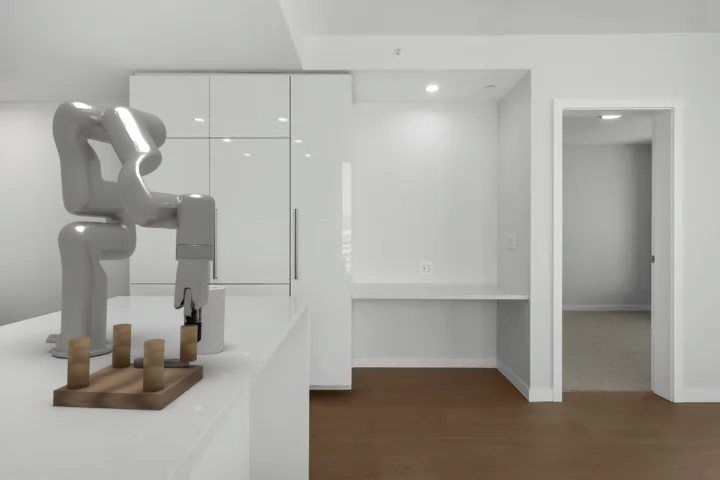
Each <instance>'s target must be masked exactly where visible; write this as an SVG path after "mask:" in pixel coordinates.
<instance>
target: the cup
mask: <svg viewBox="0 0 720 480" xmlns="http://www.w3.org/2000/svg"><path fill="white" fill-rule="evenodd" d="M225 303H226V286H224V285H223V286H222V285H209V295H208V302H207V304H206V305H204V306H203V307H202V320H201V322H202V329H201V340H200V341H199V342H197V355H212V353H214V354H218V353H217V352H219V353H221V351H222V352H223V351H224V350H225V315H226V314H225V313H226V311H225V310H226V309H225V308H226V304H225Z"/></svg>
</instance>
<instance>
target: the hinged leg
mask: <svg viewBox="0 0 720 480" xmlns="http://www.w3.org/2000/svg"><path fill="white" fill-rule="evenodd" d="M197 331H198V325H184V324H183V325H180V337H179V358H164V367H169V366H188V365H190V363H193V362H195V361H197V360H198V354H197ZM143 361H144V357H137V358H134V359H133V363H134V367H143Z"/></svg>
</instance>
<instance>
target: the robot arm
mask: <svg viewBox="0 0 720 480" xmlns="http://www.w3.org/2000/svg"><path fill="white" fill-rule="evenodd" d="M52 135H53V136H52V137H53V140H54V144H55V147H56V149H57V153H58V157H59V163H60V178H61V181H60V182H61V193H62V201H63V206H64V209H65V210H66V212H67V213H69V214H71V215H74V216H78V217H84V218H85V217H86V218H101V219H105V222H102V221H88V220H87V221H86V220H84V221H83V220H82V221H81V220H80V221H74V222H73V221H72V222H69V223H67V224H66V225H64V226H63V227H62V228H61V229H60V231H59V232H58V237H57V245H58V250H59V256H60V263H61V306H60V307H61V308H60V310H61V311H60V312H61V313H60V333H58V334H57V333H50V334H49V335H48V336H47V338H46V339H45V343H46V344H55V347H54V348H53V349H52V351H51V352H52V353H51V355H52V356H53V357H57V358H63V359H64V358H65V359H68V339H70V338H74V337H90V357H94V356H95V357H96V356H100V355H104V354H105V355H106V354H107V353H110V352H112V350H113V343H110V342H107V327H108V326H107V324H108V323H107V317H108V289H109V287H108V280H109V279H108V276H107V273H106V270H105V269H104V267H103V266H102V264H101V262H100V261H122V260H123V261H124V260H126V259H128V258H130V257H132V256H133V254H134V253H135V251H136V248H137V228H136V227H137V226H136V225H138V226H139V227H142V228H148V229H149V228H150V229H151V228H152V229H167V230H176V233H175V234H176V235H175V261H177V267H176V275H175V285H174V295H173V296H174V298H173V308H174V309H175V310H180V309H182V308H183V314H182V315H183V325H198V331H197V342H199V341H200V340H201V329H202V322H201V320H202V307H203V306H204V305H206V304H207V302H208V295H209V286H210V264H209V263H210V262H214V261H215V260H214V259H215V232H216V230H215V228H216V200H215V198H214V197H213V196H211V195H209V194H203V193H183V194H181V195H180V194H172V193H167V192H160V191H159V192H158V191H150V189H149V188H148V185H146V183H145V181H144V179H143V177H145V176H147V175H149V174H151V173H154V172H155V171H156V170H157V169H159V167H160V166H161V164H162V162H163V155H162V153H161V151H160V149H159V148H161V147H163V145H164V144H165V142H166V139H167V129H166V125H165V123H164V121H162V119H161V118H159V117H158V116H157V115H155V114H153V113H149V112H146V111H143V110H139V109H137V108H133V107H131V106H127V105H113V106H110V107H108V108H107V107H104V106H101V105H99V104H96V103H91V102H87V101H84V100H83V101H82V100H75V99H74V100H66V101H64V102H61V104H60V105H58V107H57V108H56V110H55V112H54V114H53V119H52ZM89 140H91V141H97V142H100V143H104V144H110V145H111V146H112V150H114V152H115V154H116V156H117V158H118V160H119V162H120V164H121V165H122V167H121V169H120V170H119V173H118V176H117V182H116V181H110V180H105V179H103V176H102V167H101V166H102V165H101V160H100V158H99V156H98V154H97V152H96V150H95V149H94V148H93V146H92V145H91V144H90V143H89Z"/></svg>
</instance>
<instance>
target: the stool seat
mask: <svg viewBox="0 0 720 480" xmlns="http://www.w3.org/2000/svg"><path fill="white" fill-rule="evenodd" d="M165 341H166V340H165V339H164V338H163V339H161V338H153V339H152V338H151V339H146V340H144V341H143V358H144V361H143V367H134V362H131V350H132V324H131V323H118V324H113V325H112V344H113V350H112V351H111V352H112V353H111V355H112V356H111V357H112V358H111V364H109V365H108V366H106V367H103V368H100V369H98V370H96V371H94V372H92V373H90V359H91V356H90V337H74V338H70V339H68V358H67V369H66V370H67V376H66V378H67V379H66V380H67V381H66V384H65V385H63V386H60V387H59V388H56V389H54V390H53V392H52V393H53V395H52V406H53V407H54V406H55V407H73V408H74V407H76V408H77V407H78V408H101V409H123V410H124V409H127V410H147V411H148V410H152V411H153V410H154V411H162V410H163V409H164V408H165V407H166V406H168V405H169V404H170V403H171V402H173V401H174V400H175V399H177V398H178V397H180V396H181V395H182V394H184V393H185V392H187V391H188V390H189V389H190V388H191V387H193V386H194V385H195V384H198V382H200V381H201V380H202V379H204V365H198V364H189V365H188V366H169V367H164V359H165V351H166V349H165V346H166V344H165V343H166V342H165Z"/></svg>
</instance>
